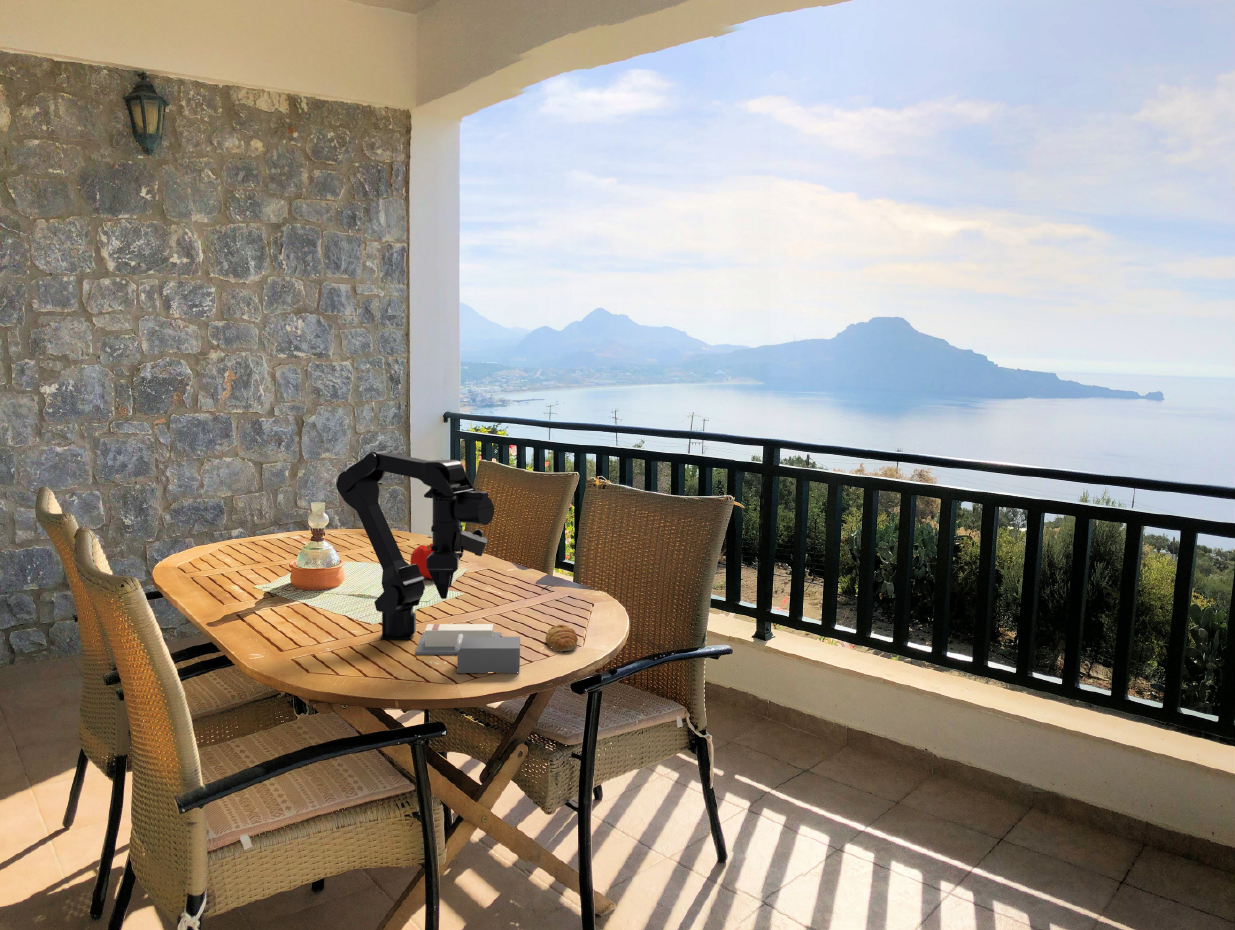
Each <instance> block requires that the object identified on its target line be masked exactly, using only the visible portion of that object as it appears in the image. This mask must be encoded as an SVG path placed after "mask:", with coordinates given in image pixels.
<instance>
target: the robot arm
mask: <svg viewBox="0 0 1235 930" xmlns="http://www.w3.org/2000/svg"><path fill="white" fill-rule="evenodd" d="M386 473H390V474H394V475H399V476H405V477H409V478H413V479H417V480H419V481H421V482H422V484H424V485H425V486H428V487H430V488H429V490H427V492H425V493H424V494H423V497H424V498H426V499H432V525H431V527H430V528H431V529H430V531H431V532H432V538H431V539H432V546H431V551H435V552H432V553H431V554H430V555H429V556H428V557H427V559H426V568H427V569H428V572H429V573H430V575H431V577H432V579H431V580H432V582H433V584H434V585H435V588H436V590H437V592H438V595H439V597H440V599H442V600H446V599H447V598H448V594H449V593H448V592H449V588H451V587H452V582H453V578H454V574H455V572H457V571H458V569H459V565H460V564H459V563H460V559H461V558H463V556H464V552H465V551H466V552H469V553H471V554H474V556H478V557H483V555H484V554H483V553H484V551H485V549H486V546H487V544H488V538H487V537H484V534H483V533H484V532H483V530H482V529H479V528H475V529H474V530H473V531H472V532H471V531H465V530H463V524H462V523H465V524H473V525H480V526H488V525H489V524H490V523H492V520H493V518H494V516H495V506H494V503H493V500H492V499H491V498H490V497H489V492H488V491H476V490H477V489H476V488H475V486H474V485H473V483H472V481H471V480H470V478H469V476H468V474H467V473H466V470H465V467H464V465H463V463H462V462H461V461H459V460H457V459H437V460H436V459H435V460H427V459H421V458H417V457H413V456H407V455H403V454H398V453H392V452H389V451H387V450H378V451H377V450H376V451H370V452H368V453H367V454H366V455H365V456H364V457H363V458H362V459H361V460H359V461H357V462H356V463H355V464H353V465H351V466H350V467H348V468H347V469H346V470H344V471H342V472H340V474H339V475H338V478H337V481H336V483H335V485H336V489H337V491H338V493H339V495H340V496H341V498H342V499H343V501H344V503H346V504H347V505H348V506H350V508H351V509H353V510H354V511H356V513H357V516H358V517H359V520H360V522H361V524H362V526H363V529H364V531H365V533H366V536H367V538H368V540H369V542H370V543H371V547H372V549H373V551H374V552H375V555H376V558H377V560H378V562H379V564H380V566H381V569H382V573H381V574H382V576H381V587H382V590H383V592H382V593H381V594H380V595H379V596H378V598H376V599H375V600H374V606H375V610H376V612H380V613H381V617H382V618H381V635H380V636H379V637H380V638H379V639H380V640H411V639H412V637H413V636H414V635H415V633H416V629H417V625H416V624H417V621H416V620H417V619H416V617H417V616H416V615H417V614H416V612H414V607H417V606H419V604H420V602H421V599H422V597H423V596H424V593H425V590H426V586H425V583H424V582H425V580H426V579H424V578H423V577H422V575H421V573H420V570H419V567H418V565H417V564H413V565H411V564H409V563H408V561H406V560H405V559H404V556H403V554H402V553H401V549H400V548H399V545H398V544H397V541H396V539H395V537H394V535H393V532H392V530H391V529H390V526H389V524H388V521H387V519H386V517H385V514H384V513H383V511H382V508H381V506H380V504H379V500H380V499H379V497H380V487H379V484H378V483H379V482H380V481H381V480H382V479H384V476H385V474H386Z"/></svg>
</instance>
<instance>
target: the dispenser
mask: <svg viewBox="0 0 1235 930" xmlns="http://www.w3.org/2000/svg"><path fill="white" fill-rule="evenodd" d="M455 650H456V651H458V653H457V655H456V656H457V660H456V661H457V664H456V665H457V668H456V669H457V672H456V674H457V673H488V672H497V673H517V672H518V673H519V674H520V663H521V636H501V637H463V635H462V634H459V635H458V639H457V642H456V646H455Z"/></svg>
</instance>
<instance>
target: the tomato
mask: <svg viewBox="0 0 1235 930" xmlns="http://www.w3.org/2000/svg"><path fill="white" fill-rule="evenodd" d="M431 546H432V543H430V544H425V545H424V544H423V545H418V546H417V547H415V549H414V550H413V551H412V553H411V555H410V564H409V565H413V564H417V565H418V567H419V570H420V573H421V575H422V577H423V578H424V579H425V580H426V579H430V580H433V579H432V577H431V575H430V573H429V572H428V569H427V568H426V559H427V557H428V556H429V555H430V554H431V553H432V552H435V551H431Z"/></svg>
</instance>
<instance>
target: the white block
mask: <svg viewBox="0 0 1235 930" xmlns="http://www.w3.org/2000/svg"><path fill="white" fill-rule="evenodd" d="M424 632H425V647H455V646H456V642H457V639H458V635H459V634H462V635H463V637H493V632H494V624H493V623H445V624H444V623H427V624H426V627H425V629H424Z"/></svg>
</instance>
